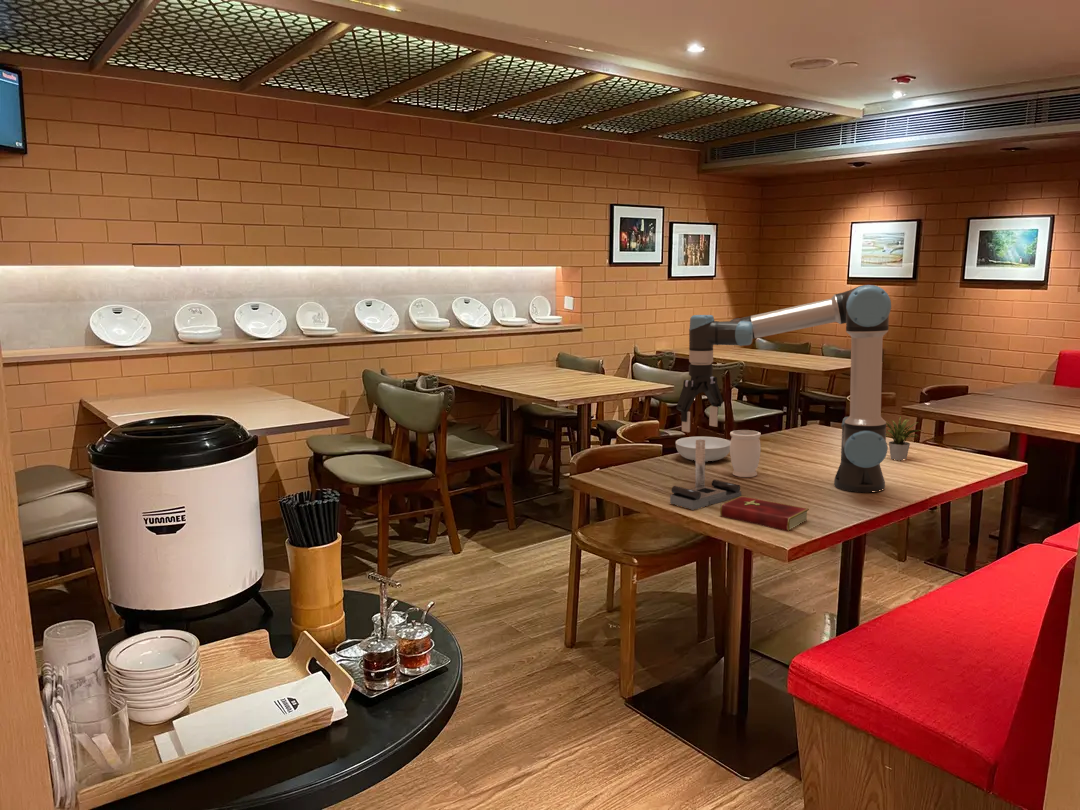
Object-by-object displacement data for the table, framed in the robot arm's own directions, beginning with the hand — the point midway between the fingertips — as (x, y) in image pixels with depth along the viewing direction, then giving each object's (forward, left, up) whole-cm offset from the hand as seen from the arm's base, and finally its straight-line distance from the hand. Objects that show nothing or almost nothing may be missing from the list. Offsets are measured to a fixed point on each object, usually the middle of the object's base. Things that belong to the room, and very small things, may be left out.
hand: (699, 428), depth 247 cm
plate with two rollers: (-10, +9, -20) cm, 24 cm away
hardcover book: (-33, +12, -21) cm, 41 cm away
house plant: (-24, -82, -20) cm, 88 cm away
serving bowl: (+26, -33, -20) cm, 47 cm away
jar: (+1, -25, -20) cm, 32 cm away
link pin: (0, 0, -20) cm, 20 cm away
